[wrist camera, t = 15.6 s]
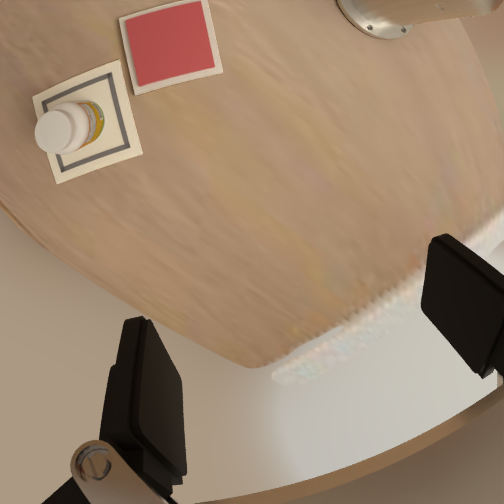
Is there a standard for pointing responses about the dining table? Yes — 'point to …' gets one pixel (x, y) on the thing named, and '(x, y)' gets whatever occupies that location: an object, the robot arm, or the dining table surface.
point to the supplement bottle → (69, 126)
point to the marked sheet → (115, 112)
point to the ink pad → (170, 45)
